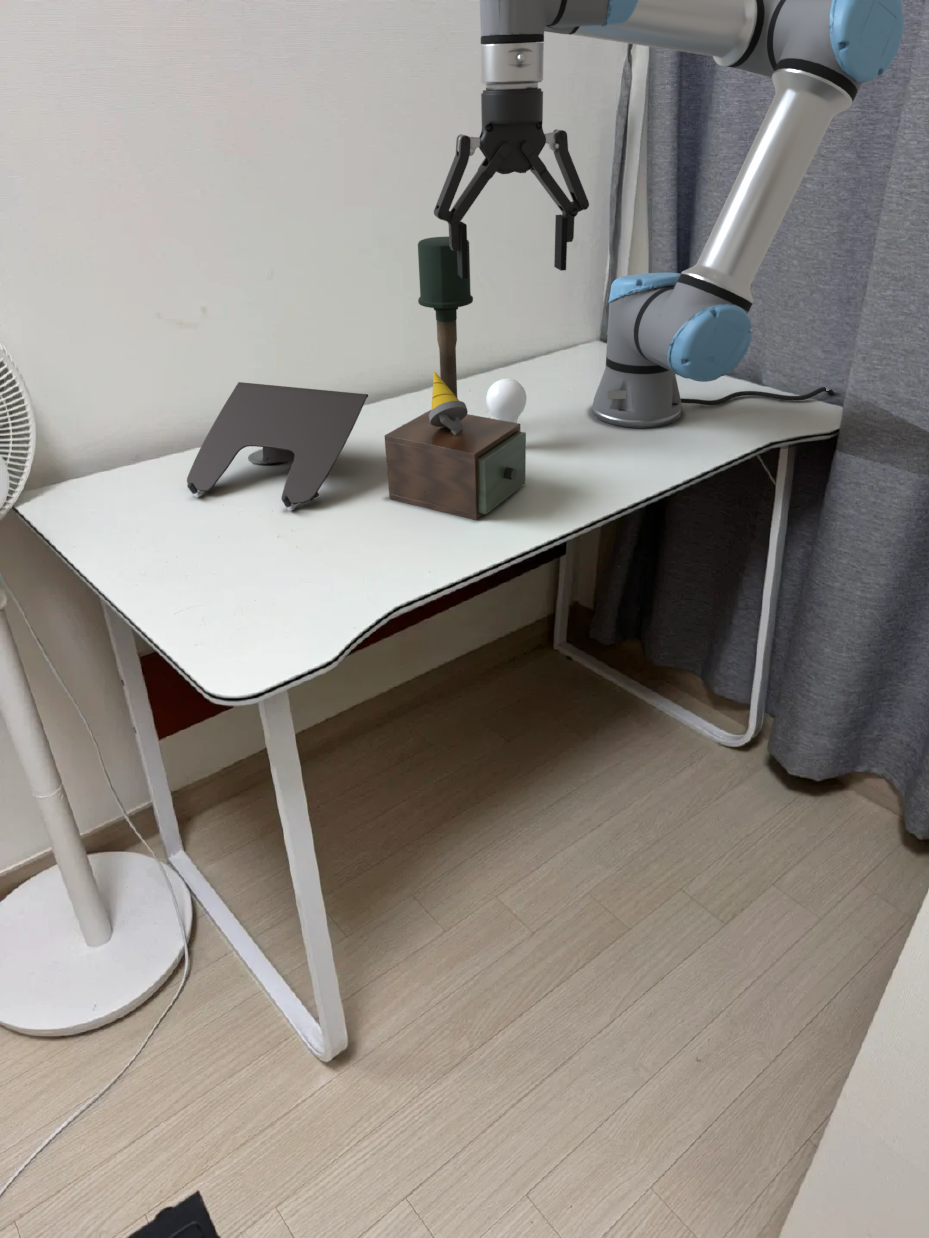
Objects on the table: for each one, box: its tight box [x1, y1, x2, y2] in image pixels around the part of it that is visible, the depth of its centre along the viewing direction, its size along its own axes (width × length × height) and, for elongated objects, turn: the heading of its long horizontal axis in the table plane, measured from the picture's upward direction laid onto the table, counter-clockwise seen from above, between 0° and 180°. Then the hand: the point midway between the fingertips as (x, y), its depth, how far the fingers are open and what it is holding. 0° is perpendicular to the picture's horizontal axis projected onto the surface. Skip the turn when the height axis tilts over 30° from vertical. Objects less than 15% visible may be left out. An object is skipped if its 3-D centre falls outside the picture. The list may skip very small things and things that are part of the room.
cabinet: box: [384, 408, 521, 521], centre depth 122 cm, size 15×13×10 cm
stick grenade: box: [417, 236, 474, 400], centre depth 138 cm, size 8×9×30 cm
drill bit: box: [429, 371, 469, 435], centre depth 119 cm, size 5×5×10 cm
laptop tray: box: [186, 381, 369, 511], centre depth 130 cm, size 23×23×9 cm
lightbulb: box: [485, 377, 527, 423], centre depth 136 cm, size 6×6×11 cm
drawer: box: [478, 430, 527, 515], centre depth 121 cm, size 15×11×8 cm
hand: (512, 273), depth 115 cm, fingers open, 13 cm apart
